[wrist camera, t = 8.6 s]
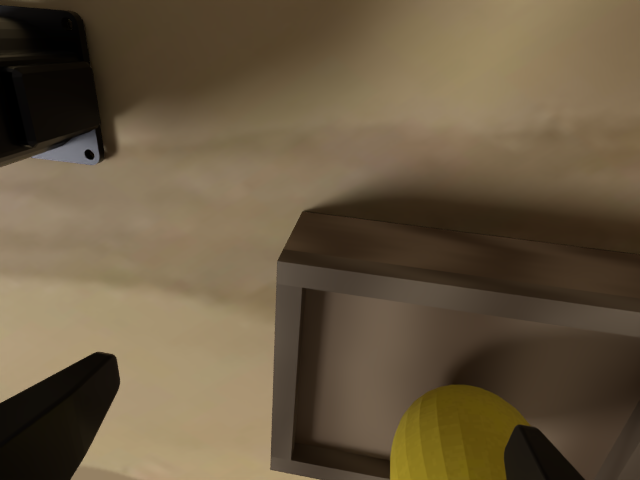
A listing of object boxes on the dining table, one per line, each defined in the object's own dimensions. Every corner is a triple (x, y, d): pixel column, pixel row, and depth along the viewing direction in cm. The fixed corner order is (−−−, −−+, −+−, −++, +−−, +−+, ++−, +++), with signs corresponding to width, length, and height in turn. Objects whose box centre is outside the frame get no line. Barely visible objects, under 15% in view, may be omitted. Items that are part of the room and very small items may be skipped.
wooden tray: (291, 393, 25) (270, 469, 21) (302, 211, 20) (277, 261, 16) (567, 442, 24) (608, 535, 19) (659, 257, 18) (744, 327, 14)
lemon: (476, 321, 17) (540, 536, 10) (546, 409, 18) (647, 653, 11) (364, 377, 19) (349, 587, 12) (435, 452, 20) (459, 680, 13)
